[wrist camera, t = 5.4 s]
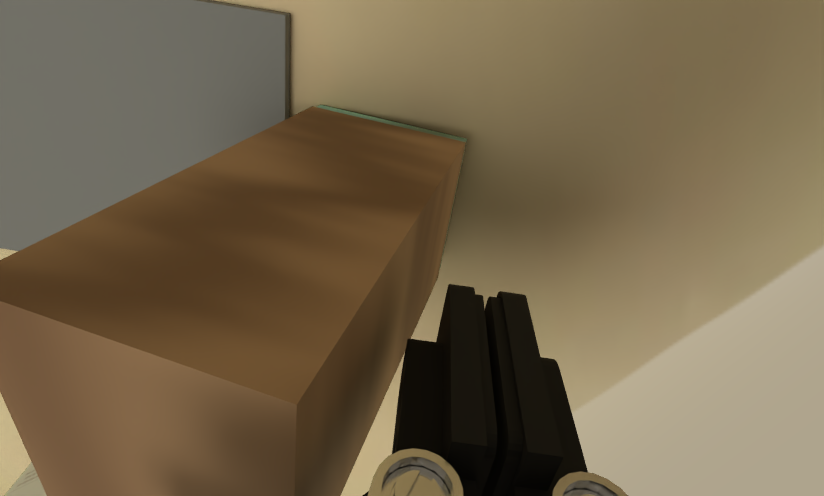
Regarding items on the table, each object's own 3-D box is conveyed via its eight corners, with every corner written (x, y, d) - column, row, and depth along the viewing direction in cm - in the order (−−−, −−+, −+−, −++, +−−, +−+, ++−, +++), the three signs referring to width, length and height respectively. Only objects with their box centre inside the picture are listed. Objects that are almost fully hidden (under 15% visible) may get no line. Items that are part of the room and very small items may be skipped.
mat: (290, 13, 14) (285, 15, 14) (287, 284, 19) (284, 291, 19) (-189, -66, 14) (-209, -66, 13) (-61, 230, 19) (-73, 237, 19)
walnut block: (469, 137, 15) (296, 404, 5) (441, 270, 17) (291, 604, 8) (319, 102, 16) (-48, 283, 6) (314, 235, 18) (48, 499, 9)
